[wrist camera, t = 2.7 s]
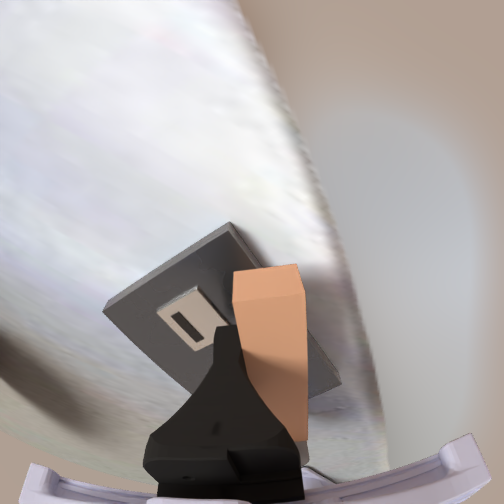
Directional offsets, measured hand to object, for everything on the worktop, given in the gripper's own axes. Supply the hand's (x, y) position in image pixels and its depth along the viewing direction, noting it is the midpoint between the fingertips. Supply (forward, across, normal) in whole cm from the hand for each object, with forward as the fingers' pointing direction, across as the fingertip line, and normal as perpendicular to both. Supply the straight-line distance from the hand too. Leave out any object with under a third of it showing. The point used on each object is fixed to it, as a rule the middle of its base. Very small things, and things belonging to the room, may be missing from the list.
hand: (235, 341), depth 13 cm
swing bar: (+1, -2, +3) cm, 3 cm away
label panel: (+2, +1, +2) cm, 4 cm away
